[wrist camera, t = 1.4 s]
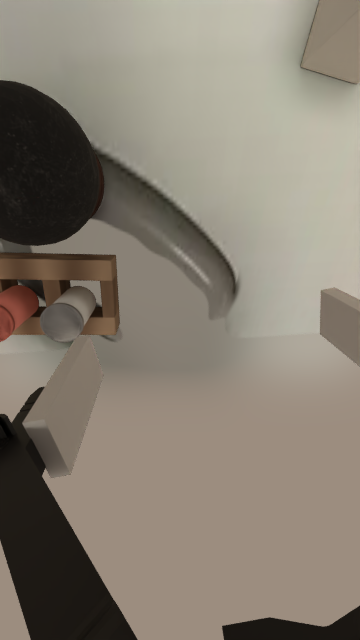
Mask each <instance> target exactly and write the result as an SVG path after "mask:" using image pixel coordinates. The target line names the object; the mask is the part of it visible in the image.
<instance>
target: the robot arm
mask: <svg viewBox="0 0 360 640" xmlns="http://www.w3.org/2000/svg"><path fill="white" fill-rule="evenodd" d="M320 334H321V335H322V336H323V337H324V338H326V339H327V340H328V341H329V342H330V343H332V344H333V345H334V346H335V347H336V348H338V349H339V350H340V351H341V352H343V353H344V354H345V355H346V356H347V357H349V358H350V359H351V360H352V361H353V362H355V363H356V364H357V365H358V366H360V300H359V299H357V298H355V297H353V296H351V295H349V294H347V293H345V292H343V291H341V290H339V289H336V288H330V289H324V290H321V310H320ZM103 376H104V375H103V372H102V369H101V366H100V363H99V360H98V357H97V355H96V352H95V349H94V346H93V343H92V340H91V337H90V335H85V336H81V337H76V338H75V340H74V342H73V343H72V345H71V346H70V348H69V350H68V351H67V353H66V354H65V356H64V358H63V359H62V361H61V362H60V364H59V365H58V367H57V369H56V370H55V372H54V374H53V375H52V377H51V378H50V380H49V381H48V383H47V385H46V386H45V387H41V388H38V389H37V390H36V391H35V392H34V393H33V394H31V395H30V397H29V398H28V400H27V401H26V402H25V405H24V406H23V407H22V408H21V410H20V412H19V413H18V414H17V416H16V417H15V419H14V420H13V422H12V423H11V422H10V420H9V418H8V416H6V415H5V414H0V541H1V544H2V547H3V550H4V554H5V557H6V560H7V564H8V567H9V570H10V573H11V576H12V580H13V583H14V586H15V589H16V593H17V596H18V599H19V603H20V606H21V609H22V612H23V615H24V619H25V622H26V625H27V628H28V631H29V635H30V638H31V640H137V638H136V636H135V634H134V633H133V631H132V629H131V628H130V626H129V624H128V622H127V621H126V619H125V618H124V616H123V614H122V612H121V611H120V609H119V607H118V605H117V604H116V602H115V601H114V600H113V598H112V596H111V595H110V593H109V591H108V589H107V588H106V586H105V584H104V583H103V581H102V579H101V578H100V576H99V574H98V572H97V571H96V569H95V567H94V565H93V564H92V562H91V560H90V559H89V557H88V555H87V554H86V552H85V550H84V548H83V546H82V545H81V543H80V541H79V540H78V538H77V536H76V535H75V533H74V531H73V529H72V527H71V526H70V524H69V522H68V521H67V519H66V517H65V516H64V514H63V512H62V510H61V509H60V507H59V505H58V503H57V502H56V500H55V498H54V496H53V495H52V493H51V491H50V490H49V488H48V486H47V484H46V483H45V481H44V479H43V478H42V474H43V472H44V470H45V468H46V469H47V471H48V473H49V475H50V477H51V478H54V477H60V476H66V475H70V474H71V472H72V469H73V466H74V463H75V460H76V457H77V454H78V451H79V448H80V445H81V442H82V439H83V436H84V433H85V430H86V426H87V424H88V421H89V418H90V415H91V412H92V409H93V406H94V403H95V400H96V397H97V394H98V391H99V388H100V384H101V382H102V379H103ZM222 629H223V636H224V640H360V606H359V607H357V608H356V609H354V610H352V611H351V612H349V613H348V614H347V615H345V616H343V617H342V618H340V619H339V620H337V621H336V622H334V623H333V624H331V625H329V626H325V627H321V626H315V625H309V624H304V623H298V622H292V621H286V620H281V619H275V618H264V619H258V620H253V621H247V622H242V623H236V624H231V625H226V626H222Z"/></svg>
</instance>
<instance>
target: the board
mask: <svg viewBox="0 0 360 640" xmlns="http://www.w3.org/2000/svg"><path fill="white" fill-rule="evenodd" d="M17 279H26V280H42V282H43V288H44V294H45V300H46V306H47V307H48V306H50V305H52V304H53V303H54V302H55V301H56V300H57V299H58V298H59V297H60V296H61V295H62V294H64V293H65V292H66V291H67V290H68V289H69V288H71V287H70V280H94V281H95V280H96V281H100V285H101V298H102V307H95V309H94V311H93V312H92V314H91V316H90V317H89V319H88V321H87V322H86V324H85V325H84V328H83V330H82V332H81V334H80V335H116V332H117V329H118V326H119V323H120V320H119V302H118V286H117V269H116V255H92V254H46V253H45V254H43V253H41V254H40V253H0V293H1V292H3V291H5V290H7V289H8V288H10V287H12V286H15V285H18V282H17ZM47 307H38V309H37V311H36V312H35V313H34V314H33V315H31V316H30V317H29V318H28V319H27V320H26V321H25V322H23V323H22V324H21V325H20V326H19V327H18V328H17V329H16V330H14V331H13V333H12V334H11V335H46V334H45V333H44V332H43V330H42V328H41V326H40V317H41V314H42V312H43V311H44V310H45V309H46V308H47Z"/></svg>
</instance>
